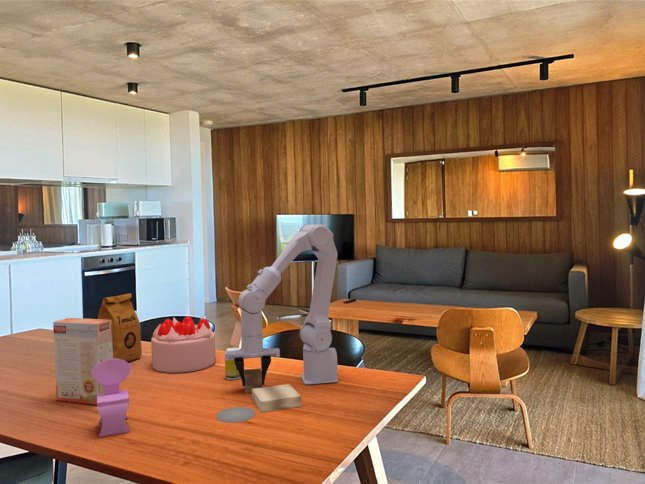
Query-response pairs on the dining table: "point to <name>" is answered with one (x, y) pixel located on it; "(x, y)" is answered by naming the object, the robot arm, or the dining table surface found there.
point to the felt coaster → (235, 414)
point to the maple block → (276, 397)
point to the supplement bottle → (231, 368)
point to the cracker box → (80, 357)
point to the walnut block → (252, 379)
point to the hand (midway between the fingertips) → (253, 384)
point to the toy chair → (112, 396)
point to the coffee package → (122, 327)
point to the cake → (183, 346)
